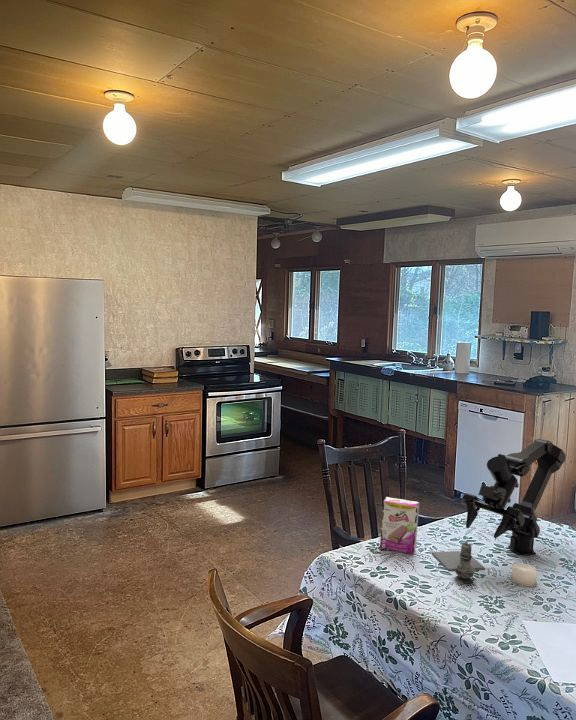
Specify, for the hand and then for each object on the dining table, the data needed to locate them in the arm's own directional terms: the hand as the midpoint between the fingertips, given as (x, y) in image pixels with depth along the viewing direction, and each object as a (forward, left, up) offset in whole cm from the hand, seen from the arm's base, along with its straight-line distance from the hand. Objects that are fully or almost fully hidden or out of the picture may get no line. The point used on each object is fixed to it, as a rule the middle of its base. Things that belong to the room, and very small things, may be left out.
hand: (480, 532), depth 175 cm
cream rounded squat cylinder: (-12, +6, -13) cm, 18 cm away
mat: (+2, -8, -13) cm, 15 cm away
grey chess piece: (+6, +4, -13) cm, 15 cm away
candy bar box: (+18, -18, -13) cm, 29 cm away
